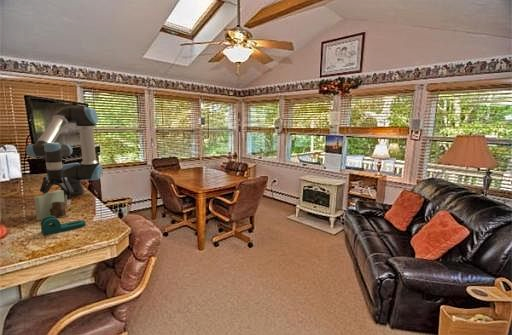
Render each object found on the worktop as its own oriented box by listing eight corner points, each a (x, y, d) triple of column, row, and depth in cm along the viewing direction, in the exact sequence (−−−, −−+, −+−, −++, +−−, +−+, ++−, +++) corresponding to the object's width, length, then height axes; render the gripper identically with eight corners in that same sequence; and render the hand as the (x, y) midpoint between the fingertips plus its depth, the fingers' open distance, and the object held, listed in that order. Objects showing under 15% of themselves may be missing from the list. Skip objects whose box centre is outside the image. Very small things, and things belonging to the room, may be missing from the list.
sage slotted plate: (41, 220, 145) (39, 197, 143) (36, 219, 146) (34, 197, 144) (65, 210, 161) (63, 190, 159) (60, 210, 161) (58, 190, 159)
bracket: (44, 236, 126) (42, 220, 124) (41, 232, 130) (40, 217, 129) (87, 226, 139) (86, 212, 137) (83, 223, 143) (82, 209, 142)
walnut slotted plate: (37, 214, 153) (35, 201, 152) (41, 213, 155) (39, 200, 154) (62, 216, 151) (60, 203, 150) (65, 215, 154) (64, 202, 152)
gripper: (29, 169, 152) (33, 204, 155) (68, 171, 149) (71, 207, 152) (41, 167, 159) (45, 201, 162) (79, 169, 156) (81, 203, 160)
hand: (58, 204), depth 157 cm, fingers open, 13 cm apart
